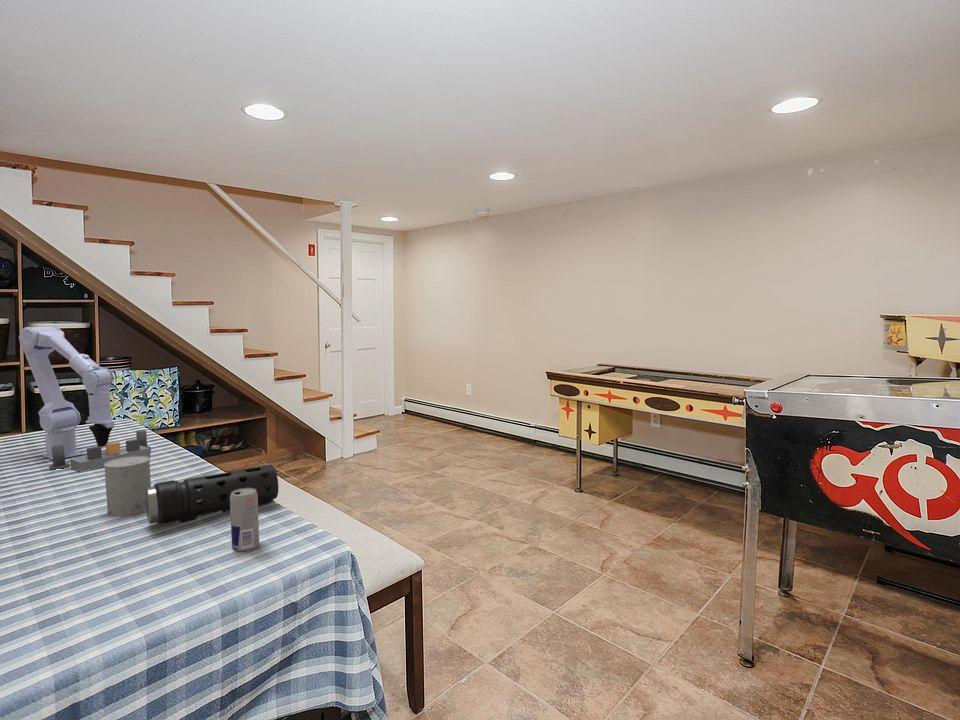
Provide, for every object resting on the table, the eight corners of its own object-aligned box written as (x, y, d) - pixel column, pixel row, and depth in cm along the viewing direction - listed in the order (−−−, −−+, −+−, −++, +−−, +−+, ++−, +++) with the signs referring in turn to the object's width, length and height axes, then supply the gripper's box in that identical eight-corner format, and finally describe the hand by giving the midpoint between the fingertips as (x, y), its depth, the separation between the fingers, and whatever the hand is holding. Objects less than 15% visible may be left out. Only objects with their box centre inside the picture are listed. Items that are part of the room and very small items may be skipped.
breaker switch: (106, 454, 169) (105, 443, 169) (117, 452, 172) (116, 441, 171) (109, 455, 168) (108, 444, 168) (120, 453, 171) (119, 442, 170)
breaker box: (71, 468, 164) (69, 448, 164) (140, 453, 181) (139, 435, 180) (80, 472, 161) (78, 451, 160) (150, 457, 177) (149, 438, 177)
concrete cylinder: (103, 518, 126) (100, 469, 125) (110, 505, 134) (107, 458, 133) (150, 512, 130) (148, 463, 129) (154, 499, 139) (151, 454, 138)
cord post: (131, 451, 184) (130, 432, 183) (146, 448, 188) (145, 429, 187) (138, 453, 181) (136, 434, 180) (153, 450, 185) (152, 431, 184)
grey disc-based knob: (46, 469, 164) (44, 447, 163) (65, 465, 168) (64, 443, 167) (52, 471, 161) (51, 449, 160) (72, 467, 165) (70, 445, 164)
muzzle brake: (279, 507, 134) (278, 468, 133) (151, 536, 117) (148, 491, 116) (268, 496, 142) (267, 459, 141) (146, 522, 124) (143, 480, 123)
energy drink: (237, 541, 115) (235, 487, 113) (262, 540, 115) (260, 487, 114) (227, 552, 109) (225, 496, 108) (254, 551, 110) (252, 495, 109)
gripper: (76, 405, 173) (79, 445, 175) (95, 410, 165) (98, 452, 167) (100, 402, 179) (103, 441, 180) (120, 406, 171) (122, 447, 172)
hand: (102, 446), depth 174 cm, fingers closed
